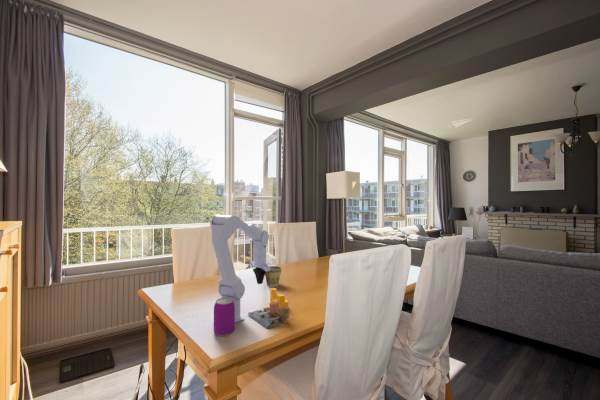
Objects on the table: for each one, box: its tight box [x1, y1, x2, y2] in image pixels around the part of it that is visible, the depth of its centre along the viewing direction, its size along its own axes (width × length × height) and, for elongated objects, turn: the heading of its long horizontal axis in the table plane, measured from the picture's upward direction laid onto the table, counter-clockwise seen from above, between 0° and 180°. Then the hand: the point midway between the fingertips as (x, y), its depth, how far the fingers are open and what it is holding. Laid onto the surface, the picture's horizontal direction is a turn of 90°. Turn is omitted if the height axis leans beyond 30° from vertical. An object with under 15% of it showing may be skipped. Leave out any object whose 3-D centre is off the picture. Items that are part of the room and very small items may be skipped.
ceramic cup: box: [264, 265, 282, 288], centre depth 169 cm, size 13×10×10 cm
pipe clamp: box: [269, 287, 289, 309], centre depth 137 cm, size 12×4×6 cm, turn 27°
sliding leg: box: [259, 302, 279, 316], centre depth 122 cm, size 9×2×4 cm, turn 128°
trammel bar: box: [263, 306, 290, 324], centre depth 121 cm, size 9×15×6 cm, turn 38°
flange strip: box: [247, 309, 282, 330], centre depth 120 cm, size 6×16×2 cm, turn 38°
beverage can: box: [213, 298, 236, 337], centre depth 109 cm, size 8×8×12 cm
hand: (259, 283), depth 137 cm, fingers closed
